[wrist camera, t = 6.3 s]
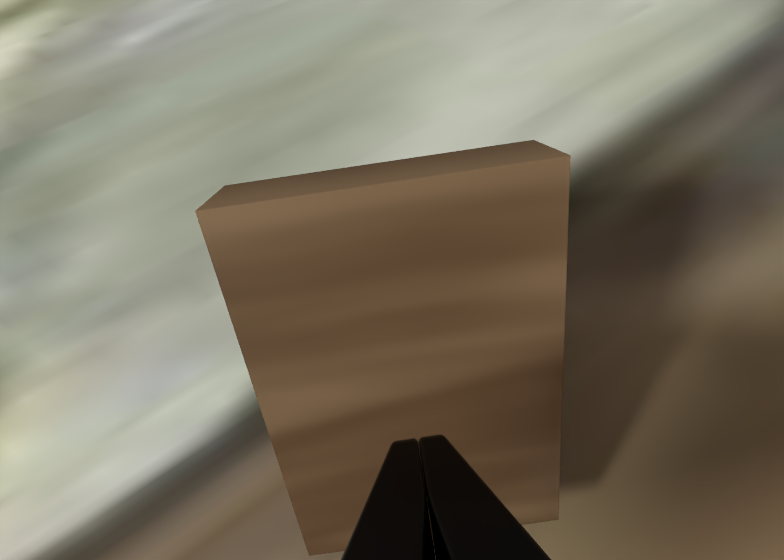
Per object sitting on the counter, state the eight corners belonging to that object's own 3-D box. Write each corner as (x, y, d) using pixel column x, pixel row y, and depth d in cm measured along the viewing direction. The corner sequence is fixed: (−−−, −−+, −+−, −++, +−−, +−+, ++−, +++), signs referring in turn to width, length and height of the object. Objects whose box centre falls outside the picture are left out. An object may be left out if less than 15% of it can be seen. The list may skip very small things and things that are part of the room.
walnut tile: (558, 519, 13) (570, 155, 8) (309, 555, 13) (195, 211, 8) (533, 461, 15) (532, 139, 10) (315, 493, 15) (225, 185, 10)
